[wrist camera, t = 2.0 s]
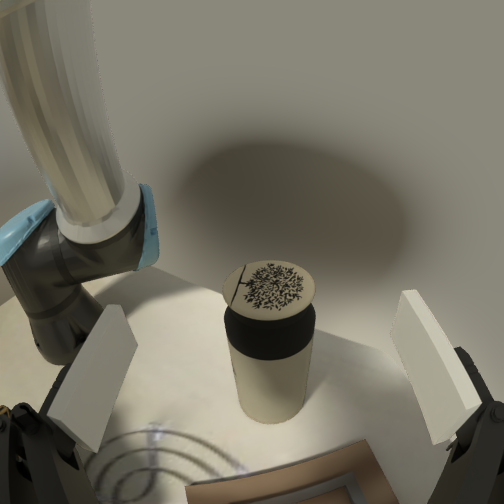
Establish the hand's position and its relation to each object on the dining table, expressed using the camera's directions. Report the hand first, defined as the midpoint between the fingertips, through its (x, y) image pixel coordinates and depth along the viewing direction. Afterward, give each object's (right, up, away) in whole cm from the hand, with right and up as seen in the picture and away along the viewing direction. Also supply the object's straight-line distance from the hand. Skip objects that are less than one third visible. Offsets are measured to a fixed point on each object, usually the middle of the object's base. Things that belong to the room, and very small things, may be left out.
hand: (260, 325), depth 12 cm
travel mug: (+2, -15, +20) cm, 25 cm away
